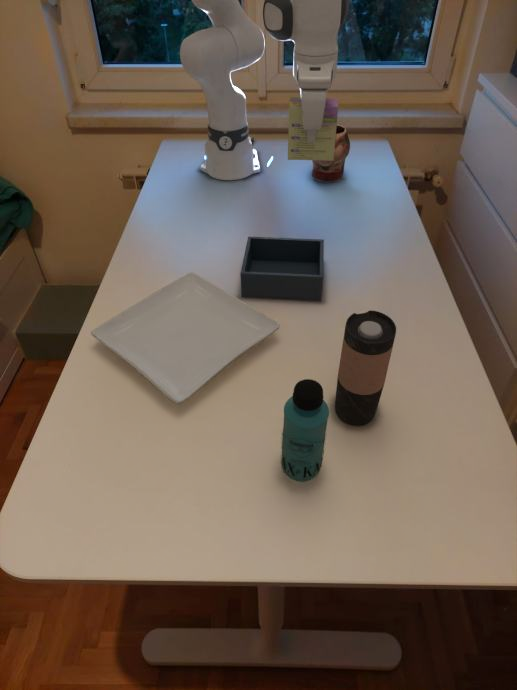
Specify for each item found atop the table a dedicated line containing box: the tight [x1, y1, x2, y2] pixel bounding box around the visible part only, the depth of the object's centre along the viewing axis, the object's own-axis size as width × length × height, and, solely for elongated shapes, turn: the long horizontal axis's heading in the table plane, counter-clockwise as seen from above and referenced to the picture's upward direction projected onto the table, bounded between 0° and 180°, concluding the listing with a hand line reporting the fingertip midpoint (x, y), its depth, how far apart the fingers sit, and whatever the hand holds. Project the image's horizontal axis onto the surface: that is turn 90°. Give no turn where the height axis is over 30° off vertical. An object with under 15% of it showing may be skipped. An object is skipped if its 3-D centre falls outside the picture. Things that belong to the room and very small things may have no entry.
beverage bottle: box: [279, 378, 330, 483], centre depth 73 cm, size 6×7×20 cm
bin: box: [240, 236, 325, 303], centre depth 114 cm, size 15×18×7 cm
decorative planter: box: [311, 124, 351, 183], centre depth 149 cm, size 20×12×14 cm, turn 173°
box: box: [287, 96, 339, 161], centre depth 111 cm, size 10×6×12 cm, turn 85°
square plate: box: [90, 272, 281, 405], centre depth 100 cm, size 27×27×4 cm
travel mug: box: [334, 309, 397, 427], centre depth 81 cm, size 8×8×20 cm
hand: (311, 135), depth 111 cm, fingers closed on box, 5 cm apart
